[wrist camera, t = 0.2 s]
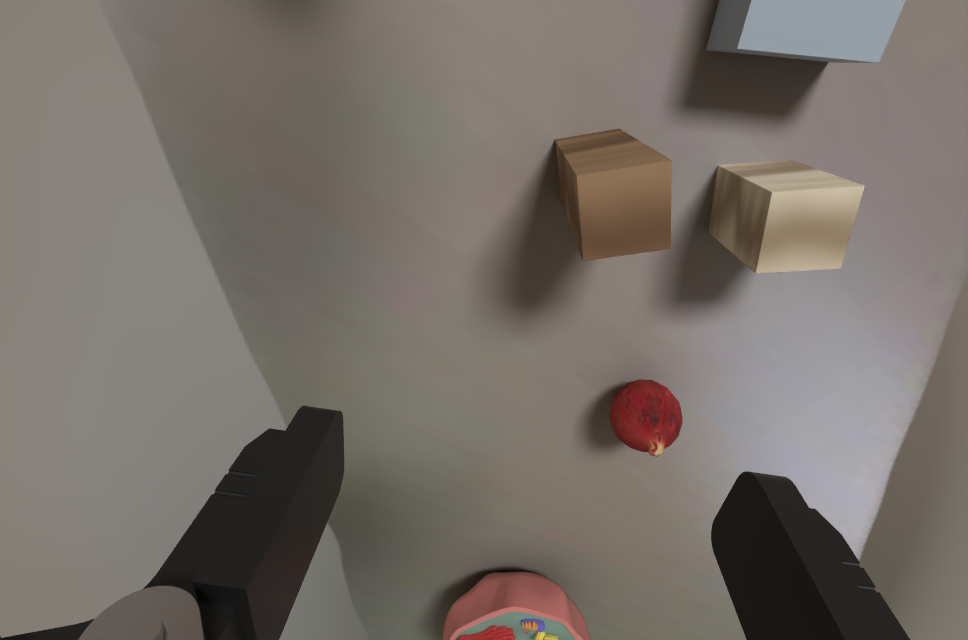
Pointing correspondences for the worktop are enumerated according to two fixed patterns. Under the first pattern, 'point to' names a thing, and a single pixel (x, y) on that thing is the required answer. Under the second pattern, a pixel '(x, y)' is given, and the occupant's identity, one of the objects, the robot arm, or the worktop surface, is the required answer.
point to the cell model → (515, 610)
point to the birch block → (783, 215)
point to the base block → (806, 28)
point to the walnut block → (614, 194)
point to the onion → (646, 416)
